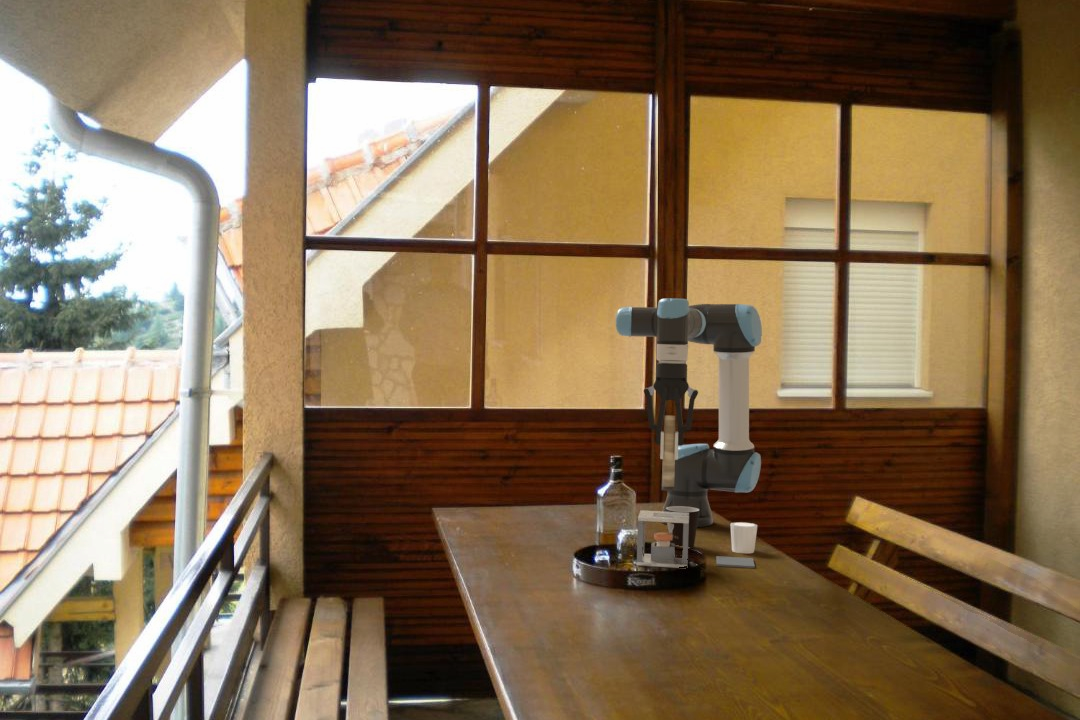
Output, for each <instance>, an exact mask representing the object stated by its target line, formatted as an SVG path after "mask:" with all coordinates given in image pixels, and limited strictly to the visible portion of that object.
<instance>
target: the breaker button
mask: <svg viewBox="0 0 1080 720" xmlns="http://www.w3.org/2000/svg"><path fill="white" fill-rule="evenodd" d="M672 537H673V535H672V534H670V533H668V532H656V533H654V534H653V539H654V540H656V542H657V546H663V547H670V541H671V540H672Z"/></svg>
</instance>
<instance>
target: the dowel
mask: <svg viewBox="0 0 1080 720" xmlns="http://www.w3.org/2000/svg"><path fill="white" fill-rule="evenodd" d="M662 431H663V432H664V454H663V459H662V467H661V468H662V469H661V470H662V473H661V491H664V492H668V491H674V477H675V460H674V453H675V433H676V432H677V415H664V418H663V430H662Z"/></svg>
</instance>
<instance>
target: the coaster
mask: <svg viewBox="0 0 1080 720" xmlns="http://www.w3.org/2000/svg"><path fill="white" fill-rule="evenodd" d="M715 558H716V559H715V561H716V567H723V568H724V567H725V568H726V567H727V568H743V569H755V568H756V566H755V562H754V561H755V560H754V558H753V557H740V556H739V557H737V556H722V555H720V556H719V555H716V557H715Z"/></svg>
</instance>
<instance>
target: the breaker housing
mask: <svg viewBox="0 0 1080 720" xmlns="http://www.w3.org/2000/svg"><path fill="white" fill-rule="evenodd" d="M661 516H664V517H661ZM646 522H655V523H660V522H661V523H662V522H672V523H683V550H682V555H681V556H682V558H675V553H676V551H675V550H676V549H675V544H673V543H670V547H663V546H657V541H653V542H651V544H650V545H651V546H650V553H644V556H643V558H642V547H643V550H644V551H645V535H646V533H645V531H646ZM688 534H689V513H683V512H664V511H662V510H646V509H645V510H643V509H641V510H640V511H639V513H638V517H637V540H636V541H637V542H636V543H637V544H636V546H637V547H636V548H637V549H636V566H638V567H639V566H640V567H658V568H674V569H680V568H679V567H684V566H687V567H688V563H689V562H688V561H689V550H688ZM687 559H688V560H687Z"/></svg>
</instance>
